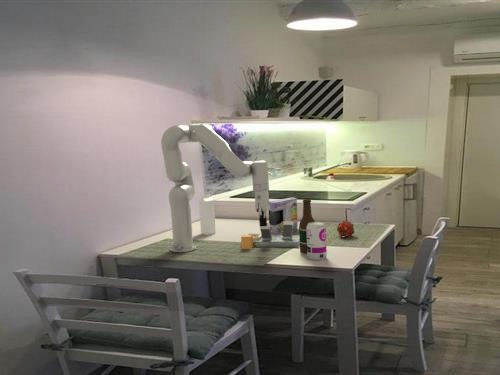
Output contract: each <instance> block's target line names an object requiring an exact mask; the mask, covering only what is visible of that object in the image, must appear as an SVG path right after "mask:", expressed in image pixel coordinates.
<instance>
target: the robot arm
mask: <svg viewBox="0 0 500 375" xmlns="http://www.w3.org/2000/svg"><path fill="white" fill-rule="evenodd" d="M182 143H183V144H185V143H199V144H200V145H202V146H203V147H204V148H205V149H206V150H207V151H208V152H210V153H211V155H213V156H214V157H215V158H216V160H217V161H218V162H219V163H220V164H221V165H222V166H223V167H224V168H225V169H227V170H226V171H229V172H230V174H232V175H233V176H234V177H236V178H237V179H245V178H247V177H251V178H252V191H253V192H254V201H255V202H254V203H255V204H254V205H255V212H256V213H258V220H259V227H260V226H267V223H268V221H267V213H268V212H269V209H270V203H269V201H270V195H269V191H270V184H269V183H270V182H269V166H268V162H267V161H266V160H255V161H247V160H245V161H244V160H242V159H240V158H239V157H238V155H236V154H235V153H234V151H232V150H231V147H230V145H229V143H228V142H227V141H226V140H224V139H223V137H221V136H220V135H219V134H218V133H216V131H215V129H214V127H213V126H212V125H210V124H207V123H201V124H192V125H190V124H184V125H183V124H175V125H172V126H169V127H168V128H166V130H165V131H164V133H163V134H162V137H161V140H160V145H161V150H162V156H163V161H164V167H165V174H166V177H167V179H168V180H169V181H170V182H171V183H174V185H173V187H172V188H171V189H170V190H169V193H168V201H169V202H168V203H169V207H170V217H171V229H172V230H171V232H172V244H173V245H171V247H170V248H169V249H170V252H172V253H173V252H174V253H187V252H191V251H195V250H196V249H197V245H196V244H194V240H193V239H194V238H193V236H194V235H193V225H192V224H193V220H192V219H193V218H192V210H191V209H192V208H191V204H190V201H191V200H193V198H195V197H194V196H195V192H196V190H195V186H194V180H193V174H192V170H191V167H190V166H189V164H188V163H186V162H185V161H183V157H182V152H181V149H180V144H182Z"/></svg>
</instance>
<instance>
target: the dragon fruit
mask: <svg viewBox="0 0 500 375" xmlns="http://www.w3.org/2000/svg"><path fill="white" fill-rule="evenodd" d="M336 232H338V235H339V236H340V237H341V236H346V237H348V236H350V237H352V235H354V234H355V228H354V223H352V222H350V221H348V220H347V221H346V220H343V221H342V222H339V223H338V225H337V227H336Z"/></svg>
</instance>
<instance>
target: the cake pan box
mask: <svg viewBox="0 0 500 375" xmlns="http://www.w3.org/2000/svg"><path fill="white" fill-rule="evenodd" d="M269 203H270V209H269V210H268V223H269V224H270V230H271V234H272V235H276V234H280V233H283V224H284V221H293V230H294V229H295V230H296V229H299V226H298V225H299V224H298V198H297V197H287V198H281V199H276V200H269Z"/></svg>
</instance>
